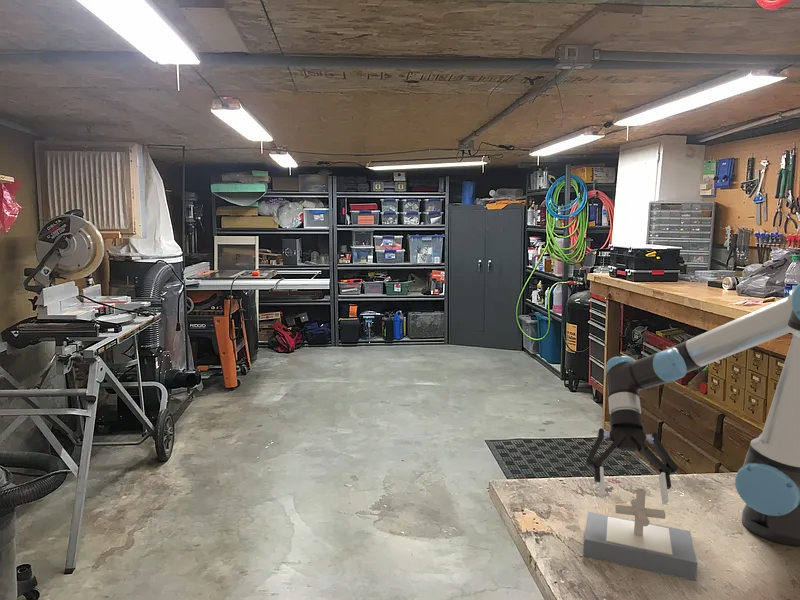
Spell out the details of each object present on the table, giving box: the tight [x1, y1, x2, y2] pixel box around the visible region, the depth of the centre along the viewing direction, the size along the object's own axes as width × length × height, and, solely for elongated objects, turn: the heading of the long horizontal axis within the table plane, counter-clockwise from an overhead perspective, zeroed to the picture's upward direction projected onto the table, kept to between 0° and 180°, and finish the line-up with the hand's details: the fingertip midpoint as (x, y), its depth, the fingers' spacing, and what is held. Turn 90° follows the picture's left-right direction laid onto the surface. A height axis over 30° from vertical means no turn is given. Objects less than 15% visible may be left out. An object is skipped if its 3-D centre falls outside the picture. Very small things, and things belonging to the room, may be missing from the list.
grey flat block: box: [582, 511, 698, 582], centre depth 123 cm, size 22×13×4 cm, turn 68°
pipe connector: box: [615, 488, 666, 536], centre depth 123 cm, size 10×10×10 cm
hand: (633, 499), depth 127 cm, fingers open, 13 cm apart
